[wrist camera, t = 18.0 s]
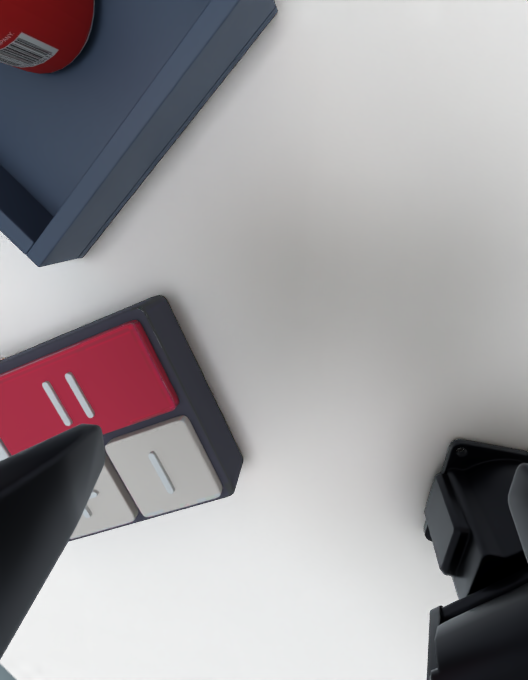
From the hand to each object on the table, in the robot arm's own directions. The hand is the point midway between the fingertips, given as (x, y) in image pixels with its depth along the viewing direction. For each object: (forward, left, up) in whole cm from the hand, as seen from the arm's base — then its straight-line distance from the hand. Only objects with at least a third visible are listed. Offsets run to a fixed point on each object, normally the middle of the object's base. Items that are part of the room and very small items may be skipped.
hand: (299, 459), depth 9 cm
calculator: (+12, +9, -13) cm, 20 cm away
